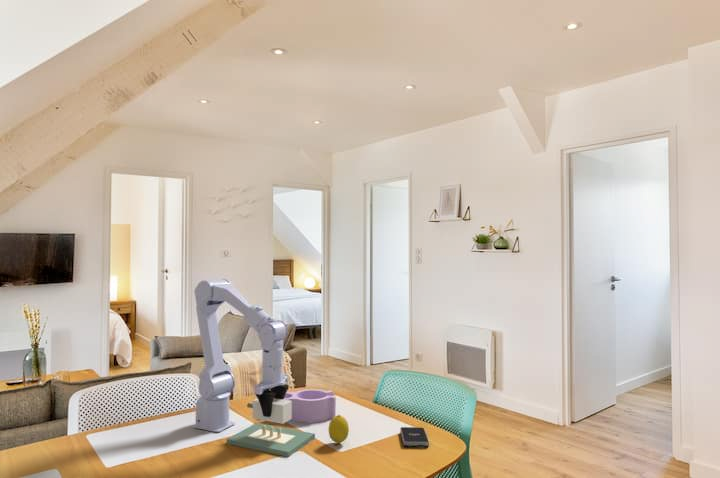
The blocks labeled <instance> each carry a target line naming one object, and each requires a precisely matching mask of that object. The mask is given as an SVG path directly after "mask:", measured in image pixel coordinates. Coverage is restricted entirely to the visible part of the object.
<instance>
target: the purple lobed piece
mask: <svg viewBox="0 0 720 478" xmlns="http://www.w3.org/2000/svg"><path fill="white" fill-rule="evenodd" d="M336 397H337V396H335V395H334V390H324V389H319V388H317V389H316V388H310V389H309V388H308V389H302V390H297V391H287V392H286V394H285V396H284V399H283V400H289V401H292V419H290V420H289V421H288V422H290V421H291V420H292V421H296V422H297V421H298V422H301V423H308V422H309V423H310V422H313V423H320V422H324V421H327V420H329V419H330V420H332V419H333V418H334V417H336V414H337V413H336V409H337V408H336V404H337V402H336V400H337V399H336Z"/></svg>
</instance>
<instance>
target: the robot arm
mask: <svg viewBox="0 0 720 478" xmlns="http://www.w3.org/2000/svg"><path fill="white" fill-rule="evenodd" d="M194 298H195V303H196V308H195V309H196V316H197V321H198V328H199V329H198V330H199V334H200V341H201V348H202V352H203V353H202V354H203V360H204V368H202V370H201V372H200V373H199V374H198V378H199V383H198V391H199V394H200V396H199V397H198V399H197V401H196V404H195V425H193V428H194V429H200V430H205V431H210V432H214V433H220V432H222V431H224V430H226V429H227V428H229V427H231V426H234V425H236V422H235V421H230V395H232V391H234V389H235V387H236V380H235V376H234V375H233V372H232V367H231V366H230V365H228V364H226V362H225V361H224V355H223V350H222V348H223V347H222V345H221V337H220V330H219V326H218V320H217V319H218V318H217V313H216V312H217V310H218V309H219V307H221V305H222V304H224V303H225V302H226V303H227V304H229V306H231V307H232V308H234V309H235V310H236V311H238V312H239V313H241V314H242V315H243V321H244V322H245V323H246V324H247V325H248V326H250V328H252V330H253V331H255V332H256V333H257V336H258V339H259V340H260V341H259V342H260V343H261V344H260V346H261V350H262V353H261V354H262V355H261V356H262V359H261V360H262V361H261V366H262V367H261V381H259V382H258V384H257V385H255V386H253V393H254V396H255V397H256V399H257V398H258V400H259V402H260V405H261V409H262V413H263V416H265V417H270V416H271V412H272V403H273V399H274V398H277V399H284V396H285V394H286V392H288V390H289V384H287V383H289V382H290V375H289V374H284V340H285V339H286V338H287V337H288V331H289V330H288V327H287V325H286V323H285V322H284V321H283V320H279V319H278V320H276V319H275V318H274V316H271V315H270V314H268V313H267V312H266V311H265V310H264V307H263V306H261V305H252V304H250V302H248V300H246V298H245V297H244V296H242V294H241V293H239V291H238V290H237V289H236V287H235V284H234V283H233V282H231V281H230V279H227V278H223V279H212V280H201V281H200V282H199V283H197V285H196V287H195V289H194Z"/></svg>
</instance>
